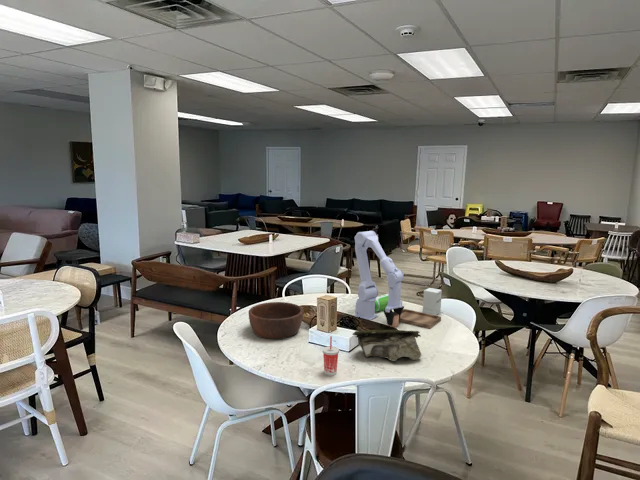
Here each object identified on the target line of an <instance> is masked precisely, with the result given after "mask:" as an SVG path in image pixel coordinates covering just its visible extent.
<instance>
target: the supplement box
mask: <svg viewBox="0 0 640 480" xmlns="http://www.w3.org/2000/svg"><path fill="white" fill-rule="evenodd" d="M442 291H443V290H442V289H438V288H433V287H427V288H426V289H424V290H423V299H422V313H427V314H431V315H436V316H438V315H439V314H440V313H441V309H442V308H441V307H442V293H443V292H442Z"/></svg>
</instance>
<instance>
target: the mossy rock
mask: <svg viewBox="0 0 640 480" xmlns="http://www.w3.org/2000/svg"><path fill="white" fill-rule="evenodd" d="M352 336H355V338H357V341H358V343H359V346H360V348H361V350H362V352H363V355H364V357H365V358H368V357H382V358H385V359H386V358H387V359H388V360H389V361H392V362H393V361H394V362H395V361H397V360H398V359H400V358H402V357H406V358H409V360H413V361H417V360H420V358H421V356H422V353H421V350H420V346H419V345H418V343H417V340H416V338H419V337H422V336H421V334H420V331H419V330H402V329H401V330H395V329H393V330H391V329H389V330H388V329H372V330H355V331H354V332H353V333H352Z"/></svg>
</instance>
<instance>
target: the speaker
mask: <svg viewBox="0 0 640 480" xmlns="http://www.w3.org/2000/svg"><path fill="white" fill-rule="evenodd" d="M388 295H389V292H388V293H385V294H382V295H378V296H377V297H376V300H375V313H376V312H382V311H384V310H385V308H386V307H387V305H388Z"/></svg>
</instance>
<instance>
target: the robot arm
mask: <svg viewBox="0 0 640 480" xmlns="http://www.w3.org/2000/svg"><path fill="white" fill-rule="evenodd" d="M354 242H355V245H354V249H355V250H354V252H355V258H356V262H357V267H358V273H359V278H360V283H359V284H358V287H357V290H358V291H357V297H358V298H357V299H356V302H355V314H354V317H355V318H359V317H360V319H365V320H368V321H372V320H373V319H375V318H377V317H378V316H379V315H378V314H375V313H376V312H375V300H376V297H378V296H379V289H378V287H377V284H376V282H375V281H373V279H372V274H371V269H370V263H369V258H368V253H367V250H368V248H371V249H372V251H373V252H374V253H375V255H376V256H377V258H378V259H379V260H380V261H379V264H380V266H381V268H382V270H383V271H384V273H385V274H386V277H385V278H386V281H387V284H388V285H387V286H388V293H389V295H388V305H387V307H386V308H385V310H383V313H384V316H385V319H386V323H387V326H388V325H392V324H393V318H394V315H395V313H397V314H399V319H400V316H401V313H402V311H403V309H405V306H404V305H403V300H401V298H402V297H401V295H402V294H401V293H402V282H403V281H404V279H405V275H404V272H403V271H402V270H400V269H399V268H397V266H396V265H395V263H394V260H393V259H392V258H391V257H389V256H387V255H386V253H385V251H384V249H383V248H382V245H381V244H380V242H379V236H378V235H377V233H376V231H374V230H369V231H368V230H367V231H358V232H357V233H356V235H355V236H354Z"/></svg>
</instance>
